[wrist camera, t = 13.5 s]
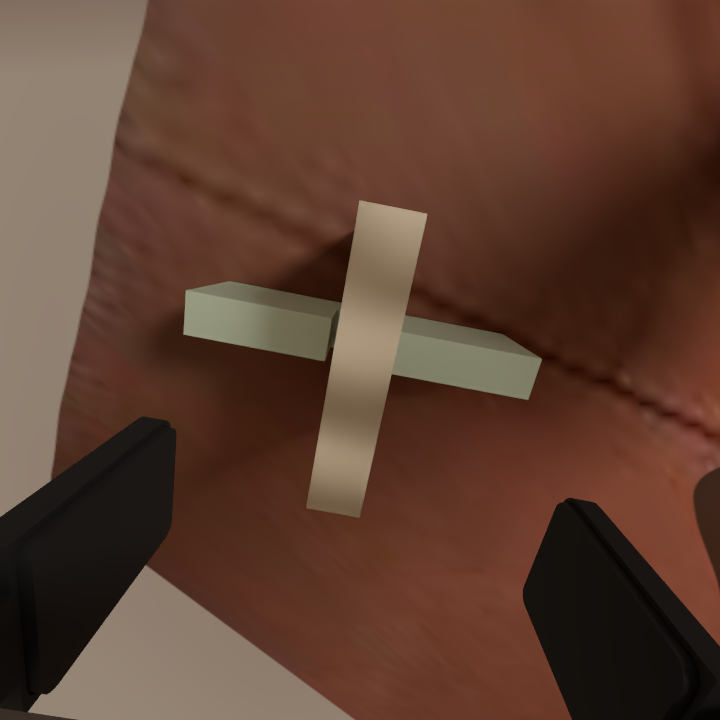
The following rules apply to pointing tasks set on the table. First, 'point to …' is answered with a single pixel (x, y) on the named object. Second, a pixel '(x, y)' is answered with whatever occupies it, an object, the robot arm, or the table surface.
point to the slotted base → (319, 328)
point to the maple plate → (364, 353)
